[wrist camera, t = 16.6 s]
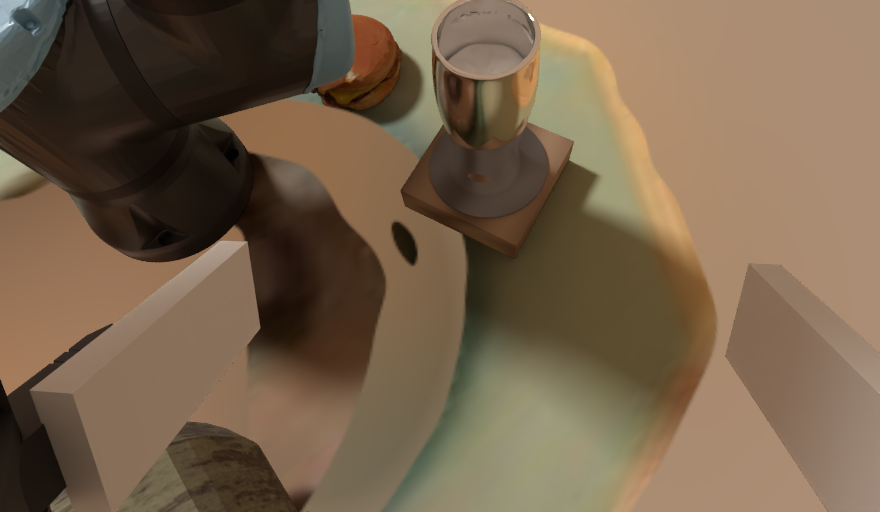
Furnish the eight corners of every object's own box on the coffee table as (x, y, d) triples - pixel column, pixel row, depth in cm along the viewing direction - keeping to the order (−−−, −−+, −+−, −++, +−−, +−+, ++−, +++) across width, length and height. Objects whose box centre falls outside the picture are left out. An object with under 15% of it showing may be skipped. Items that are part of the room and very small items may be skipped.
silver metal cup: (534, 139, 47) (555, 0, 33) (515, 209, 45) (529, 92, 31) (456, 123, 48) (446, -18, 34) (434, 190, 46) (412, 69, 32)
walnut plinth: (405, 206, 49) (400, 188, 46) (463, 115, 52) (462, 93, 49) (514, 259, 46) (516, 244, 43) (568, 159, 50) (574, 139, 47)
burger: (375, 24, 57) (366, -12, 53) (419, 84, 54) (413, 50, 50) (292, 66, 56) (276, 33, 52) (331, 130, 53) (318, 100, 49)
